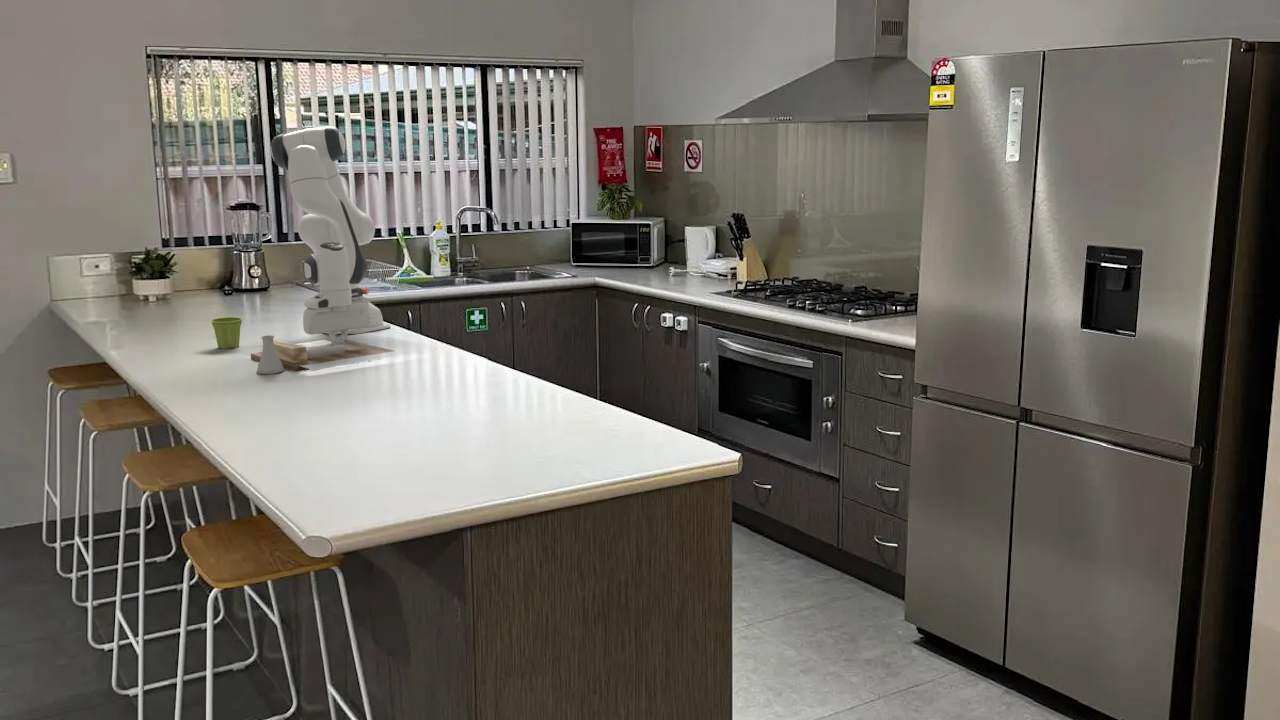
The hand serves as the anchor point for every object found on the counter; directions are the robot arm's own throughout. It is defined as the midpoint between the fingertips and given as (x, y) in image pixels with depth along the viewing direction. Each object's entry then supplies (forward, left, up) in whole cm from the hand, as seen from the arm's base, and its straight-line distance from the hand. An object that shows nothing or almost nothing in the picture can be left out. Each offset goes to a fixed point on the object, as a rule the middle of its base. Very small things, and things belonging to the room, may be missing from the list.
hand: (339, 345), depth 338 cm
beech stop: (+17, 0, -1) cm, 17 cm away
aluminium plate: (+7, 0, -1) cm, 8 cm away
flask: (+26, +9, -3) cm, 27 cm away
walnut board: (+5, 0, -3) cm, 6 cm away
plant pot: (+17, -38, -3) cm, 42 cm away
